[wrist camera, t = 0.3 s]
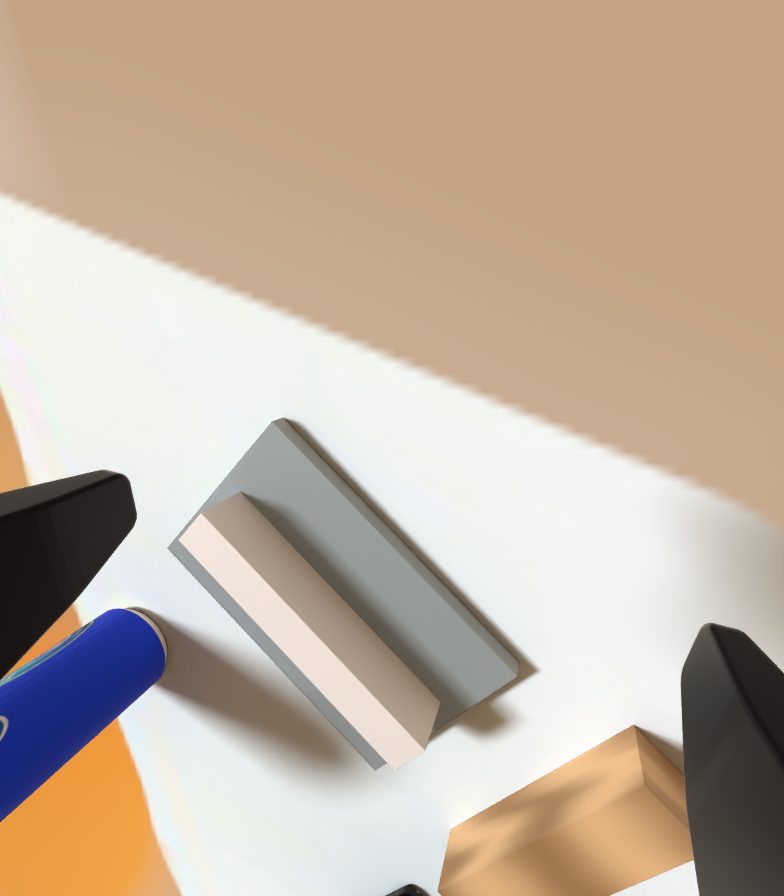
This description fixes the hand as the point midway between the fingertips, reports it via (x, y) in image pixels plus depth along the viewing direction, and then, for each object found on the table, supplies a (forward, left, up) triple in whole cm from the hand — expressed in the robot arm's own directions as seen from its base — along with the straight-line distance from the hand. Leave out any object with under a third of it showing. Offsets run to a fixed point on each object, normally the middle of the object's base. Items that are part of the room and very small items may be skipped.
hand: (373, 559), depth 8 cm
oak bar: (-12, -16, -15) cm, 25 cm away
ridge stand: (-13, -1, -15) cm, 20 cm away
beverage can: (-26, +5, -15) cm, 30 cm away
